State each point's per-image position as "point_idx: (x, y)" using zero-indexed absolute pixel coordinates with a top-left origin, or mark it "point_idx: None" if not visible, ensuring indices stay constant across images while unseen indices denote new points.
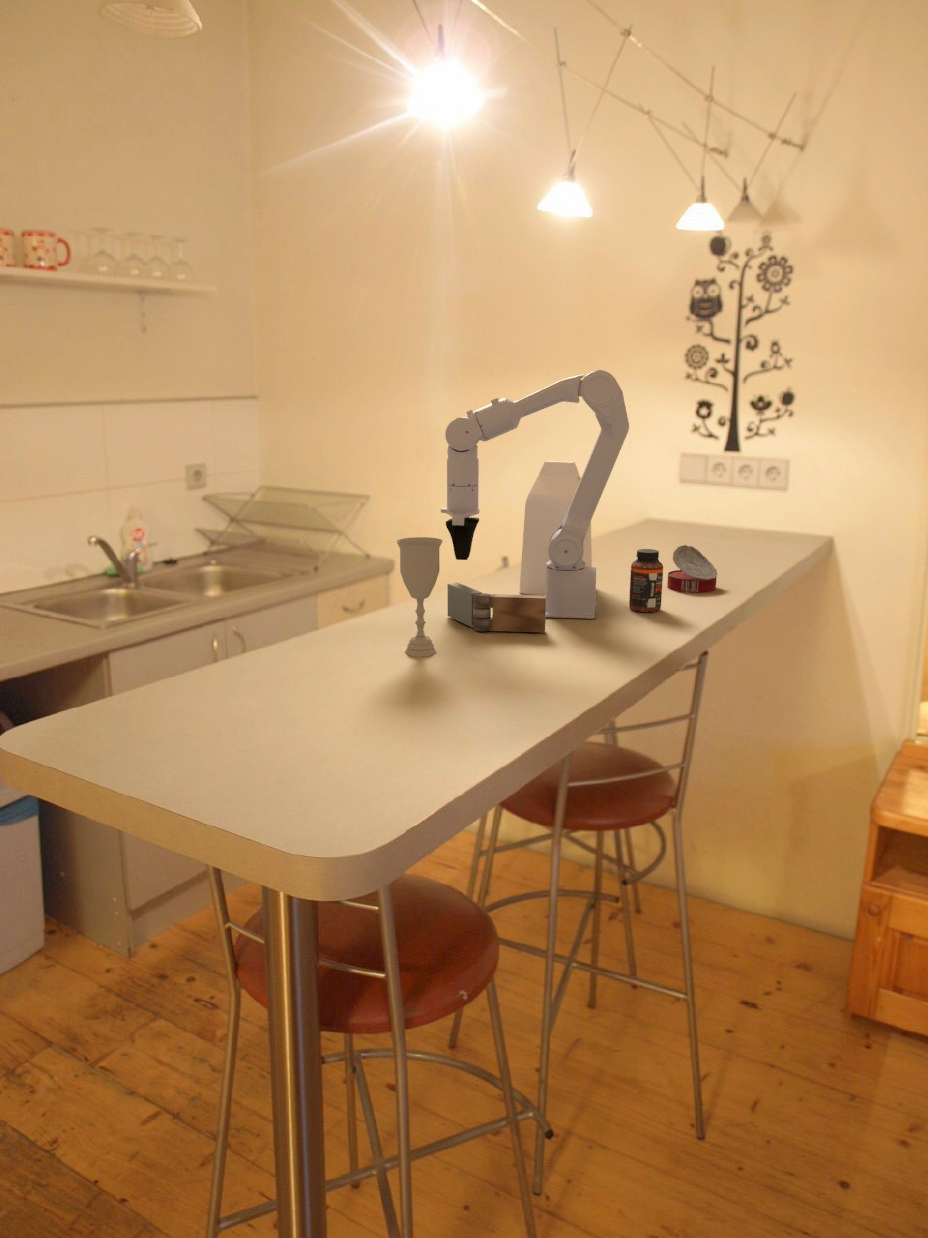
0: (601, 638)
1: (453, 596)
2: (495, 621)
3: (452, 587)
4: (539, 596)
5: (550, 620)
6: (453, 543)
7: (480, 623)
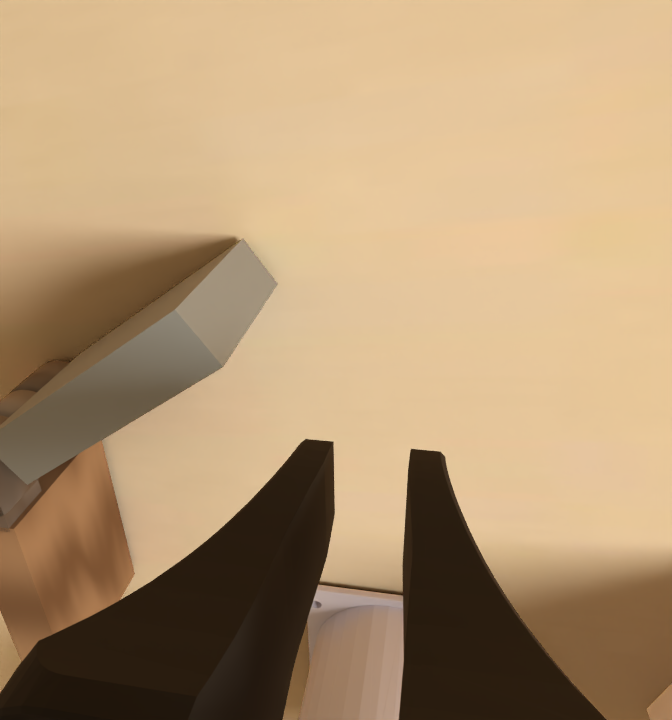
0: None
1: (148, 319)
2: None
3: (132, 336)
4: None
5: None
6: (223, 526)
7: None
